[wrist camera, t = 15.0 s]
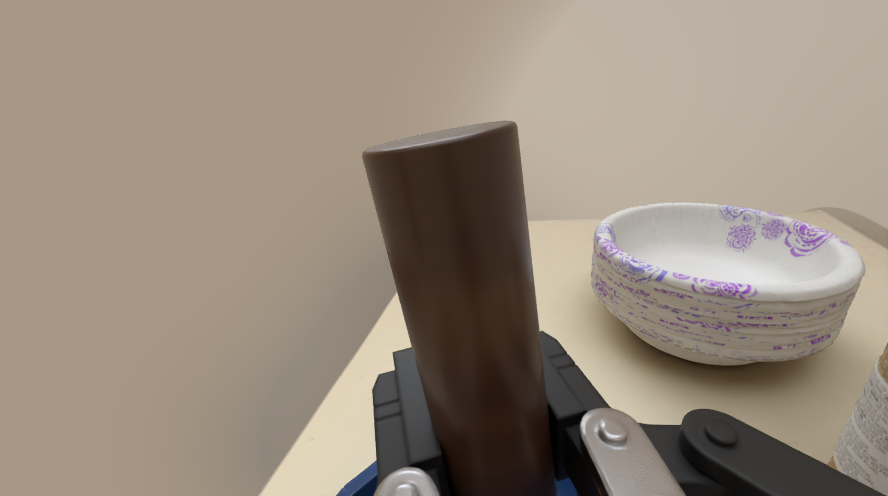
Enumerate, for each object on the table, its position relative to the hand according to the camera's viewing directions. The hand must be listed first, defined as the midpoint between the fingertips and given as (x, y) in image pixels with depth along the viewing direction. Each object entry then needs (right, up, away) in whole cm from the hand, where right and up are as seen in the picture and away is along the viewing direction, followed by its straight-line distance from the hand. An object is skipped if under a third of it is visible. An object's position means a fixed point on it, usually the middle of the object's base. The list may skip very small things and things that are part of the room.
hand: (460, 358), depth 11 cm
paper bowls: (+19, -3, +18) cm, 27 cm away
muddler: (+2, -9, +1) cm, 10 cm away
